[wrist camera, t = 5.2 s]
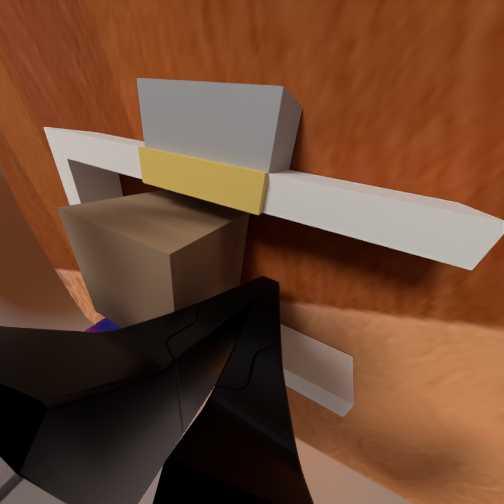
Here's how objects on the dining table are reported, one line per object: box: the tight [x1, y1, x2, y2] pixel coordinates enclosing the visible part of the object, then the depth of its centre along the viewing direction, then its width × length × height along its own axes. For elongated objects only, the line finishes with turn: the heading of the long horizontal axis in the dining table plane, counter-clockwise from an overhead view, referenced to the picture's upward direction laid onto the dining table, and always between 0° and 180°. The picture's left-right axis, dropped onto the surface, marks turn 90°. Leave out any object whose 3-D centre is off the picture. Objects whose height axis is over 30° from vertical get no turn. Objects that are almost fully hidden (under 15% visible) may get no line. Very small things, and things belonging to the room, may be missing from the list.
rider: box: [57, 189, 250, 328], centre depth 9 cm, size 5×5×5 cm
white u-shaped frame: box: [44, 78, 504, 417], centre depth 10 cm, size 17×13×3 cm
